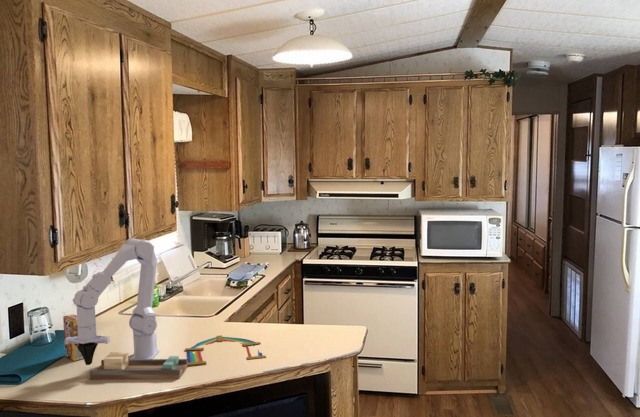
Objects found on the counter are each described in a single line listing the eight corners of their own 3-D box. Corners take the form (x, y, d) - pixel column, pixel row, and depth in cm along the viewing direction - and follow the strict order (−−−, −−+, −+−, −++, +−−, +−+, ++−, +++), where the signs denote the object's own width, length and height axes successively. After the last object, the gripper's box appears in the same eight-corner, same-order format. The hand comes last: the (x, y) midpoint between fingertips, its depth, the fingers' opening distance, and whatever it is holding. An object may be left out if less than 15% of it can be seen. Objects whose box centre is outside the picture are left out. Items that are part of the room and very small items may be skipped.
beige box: (111, 365, 187) (110, 352, 187) (128, 364, 187) (128, 352, 187) (104, 371, 181) (103, 358, 181) (121, 371, 181) (121, 358, 181)
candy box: (86, 358, 199) (84, 317, 198) (74, 361, 196) (72, 320, 195) (76, 352, 205) (73, 313, 204) (64, 355, 202) (62, 316, 201)
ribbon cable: (184, 340, 218) (185, 367, 189) (183, 338, 218) (185, 364, 189) (255, 334, 226) (267, 358, 197) (255, 332, 226) (267, 355, 197)
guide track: (102, 367, 189) (102, 355, 189) (187, 367, 189) (187, 354, 188) (90, 379, 179) (89, 366, 179) (179, 378, 179) (179, 365, 178)
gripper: (59, 329, 179) (62, 368, 180) (103, 328, 179) (105, 368, 180) (70, 322, 186) (72, 360, 187) (111, 322, 186) (113, 360, 187)
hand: (88, 363), depth 184 cm, fingers closed
